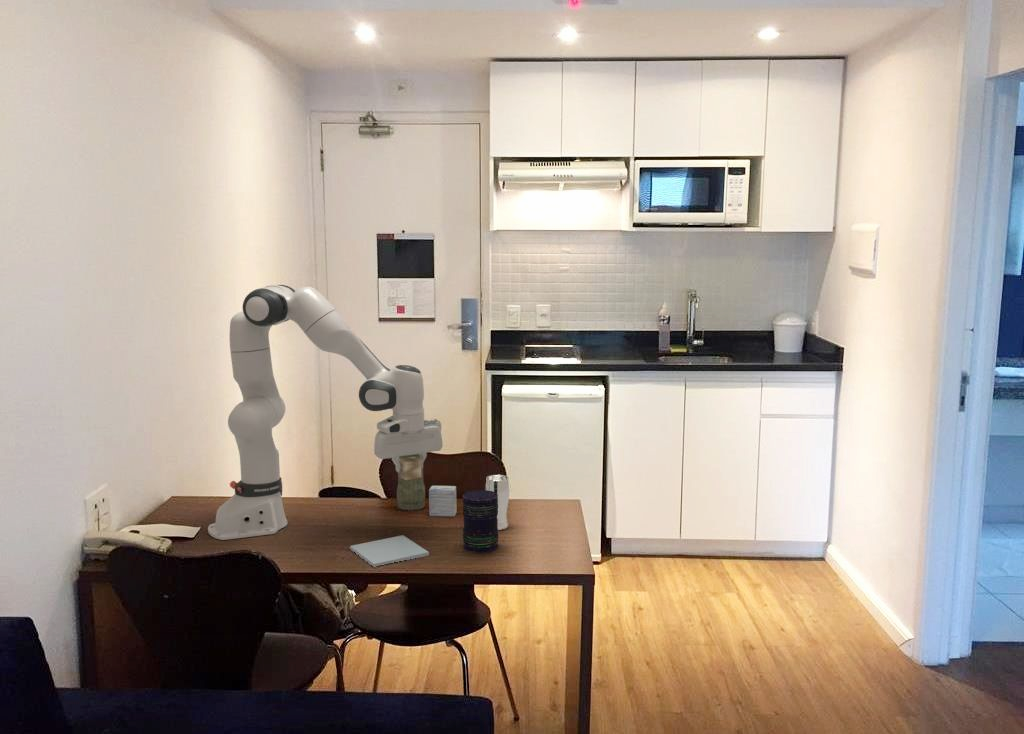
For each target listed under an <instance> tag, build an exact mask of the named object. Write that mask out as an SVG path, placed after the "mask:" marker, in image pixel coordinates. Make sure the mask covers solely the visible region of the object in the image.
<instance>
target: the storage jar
mask: <svg viewBox="0 0 1024 734" xmlns="http://www.w3.org/2000/svg"><path fill="white" fill-rule="evenodd" d="M497 498H498V494H497V493H496V492H493V491H488V490H486V489H476V490H475V489H474V490H470V491H469V490H468V491H466V492H464V493H463V494H462V516H463V528H462V541H463V542H462V543H463V545H462V549H463V550H464V551H466V552H468V553H472V554H488V553H492V552H496V551H497V549H498V548H499V545H498V542H499V530H498V528H497V515H498V499H497Z"/></svg>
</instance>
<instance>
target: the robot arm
mask: <svg viewBox="0 0 1024 734" xmlns="http://www.w3.org/2000/svg"><path fill="white" fill-rule="evenodd" d="M288 321H292V322H294V323H295V324H296V325H297V326H298V327H299V328H300V329H301V330H302V331H303V333H304V335H306V337H307V338H308V339H309V340H310V341H311V342H312V344H313V345H315V346H316V348H318V349H320V350H321V351H323V352H326V353H327V352H328V353H332V354H337V355H339V356H342V357H344V358H346V359H347V360H349V362H351V364H352V365H354V366H355V367H356V369H357V370H358V371H359V373H361V374H362V375H363V377H364V378H365V379H366V381H364V382H363V383H362V384H361V385H360V388H359V390H358V399H359V402H360V404H361V405H362V407H364V408H365V409H366V410H368V411H371V412H380V411H386V410H392V415H391V416H389V417H387V418H385V419H383V420H380V421H379V422H377V423H376V429H377V430H378V431H377V432H376V434H375V437H374V444H373V445H374V447H373V451H374V455H375V456H376V458H378V459H380V460H386V459H391V460H392V462H393V464H394V465H395V471H396V472H397V473H398V472H400V471H403V469H402V468H403V465H401V464H399V463H398V460H399V457H400V456H407V455H414V454H419V455H420V458H419V460H421V468H423V469H424V462H425V460H426V458H427V456H428V455H427V453H432V452H438V451H441V450H442V448H443V437H442V436H443V435H442V423H441V421H440V420H438V419H436V418H433V419H425V409H424V405H423V401H424V398H425V391H424V390H425V389H424V388H425V387H424V379H423V374H422V372H421V370H420V369H419V368H417V367H414V366H412V365H408V364H407V365H406V364H404V365H403V364H398V365H395V366H394V367H393V368H392V369H390V368H388V367H387V366H386V365H384V364H383V362H381V360H380V359H378V357H377V356H376V355H375V354H374V353H373V352H372V351H371V349H370V348H369V347H368V346H367V345H366V344H365V343H364V342H363V341H362V340H361V339H360V337H358V336H357V334H356V333H355V332H354V331H353V330H352V329H351V327H350V326H349V325H348V323H347V322H346V321H345V320H344V318H343V317H342V315H341V314H340V313H339V311H337V309H336V308H335V307H334V305H333V304H331V302H330V301H329V300H328V299H327V298H326V297H325V296H324V295H323V294H322V293H320V292H319V290H317V289H316V288H315V287H314V286H313V287H312V286H302V287H300V288H298V289H294V288H292V287H290V286H289V285H285V284H277V285H276V284H273V285H271V284H270V285H266V286H264V287H261V288H256V289H254V290H252V291H251V292H249V293H248V294H247V295H246V297H245V298H244V300H243V303H242V311H240V312H238V313H236V314H234V315H233V316H232V317H231V319H230V322H229V351H230V359H231V366H232V376H233V379H234V381H235V382H236V383H237V384H238V387H239V389H240V392H241V396H242V399H243V400H242V401H241V402H239V403H238V404H236V405H235V406H234V407H233V409H232V410H231V412H230V413H229V415H228V418H227V425H228V429H229V431H230V432H231V433H232V435H233V436H234V438H235V442H236V445H237V449H238V454H239V463H240V464H239V465H240V480H239V481H238V482H236V481H235V480H232V481H231V482H230V483H229V487H230V488H231V489H233V490H234V494H233V495H232V496H231V497H230V498H229V499H227V500H226V501H225V502H224V503H223V504H221V505H220V506H219V507H218V509H217V511H216V516H215V522H213V523H211V524H209V525H208V526H207V533H208V534H209V535H210V536H211V537H213V539H217V540H221V541H224V540H226V541H227V540H235V539H241V538H249V537H250V538H251V537H258V536H260V537H261V536H266V535H273V534H277V532H278V531H279V530H282V528H285V527H286V526H287V525H288V520H287V518H286V517H287V516H286V514H285V510H284V504H283V498H282V496H283V481H282V477H281V475H280V473H281V472H280V468H281V467H280V454H279V450H278V449H277V447H276V445H275V441H274V438H273V428H275V427H276V426H278V425H279V424H280V422H282V419H283V418H284V416H285V413H286V404H285V400H284V399H283V397H281V395H280V391H279V389H278V386H277V382H276V379H275V375H274V372H273V371H274V370H273V363H272V361H273V360H272V355H271V353H272V352H271V347H270V339H269V337H270V336H269V335H270V334H269V333H270V330H271V328H272V326H277V325H279V324H282V323H285V322H288Z"/></svg>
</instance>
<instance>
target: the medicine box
mask: <svg viewBox="0 0 1024 734" xmlns="http://www.w3.org/2000/svg"><path fill="white" fill-rule="evenodd" d="M428 505H429V507H428V508H429V515H430V516H429V515H428V516H429V517H456V514H457V510H458V508H457V486H455V485H431V486H430V487H429V489H428Z"/></svg>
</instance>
